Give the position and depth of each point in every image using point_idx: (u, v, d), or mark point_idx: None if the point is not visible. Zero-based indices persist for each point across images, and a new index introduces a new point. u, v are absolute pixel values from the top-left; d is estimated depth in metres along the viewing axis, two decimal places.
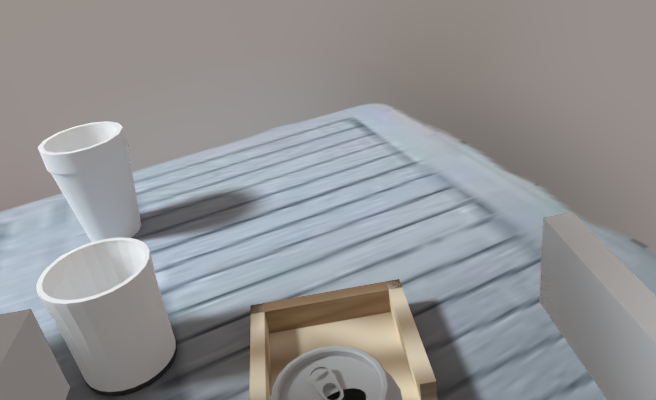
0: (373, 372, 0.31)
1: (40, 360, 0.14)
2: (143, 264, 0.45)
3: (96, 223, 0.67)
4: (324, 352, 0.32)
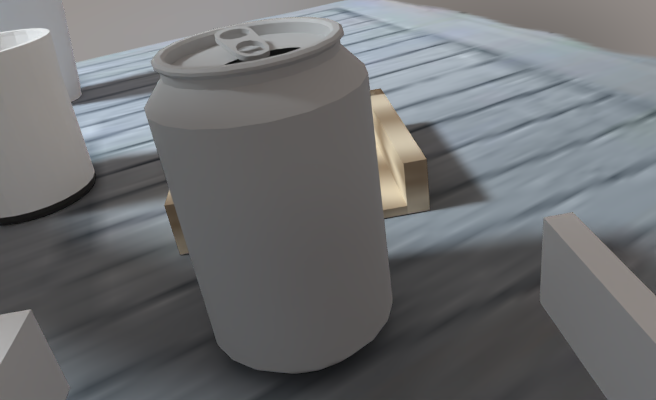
0: (321, 36, 0.20)
1: (40, 360, 0.14)
2: (36, 38, 0.34)
3: None
4: (248, 28, 0.21)
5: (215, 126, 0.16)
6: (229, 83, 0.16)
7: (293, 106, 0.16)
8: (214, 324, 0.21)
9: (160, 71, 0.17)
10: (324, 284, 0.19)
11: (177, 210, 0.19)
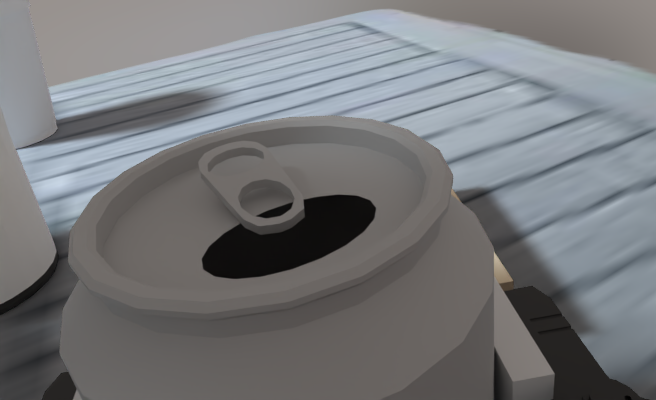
0: (396, 162, 0.11)
1: None
2: None
3: None
4: (261, 133, 0.12)
5: None
6: (224, 329, 0.07)
7: (367, 379, 0.07)
8: None
9: (78, 276, 0.08)
10: None
11: None
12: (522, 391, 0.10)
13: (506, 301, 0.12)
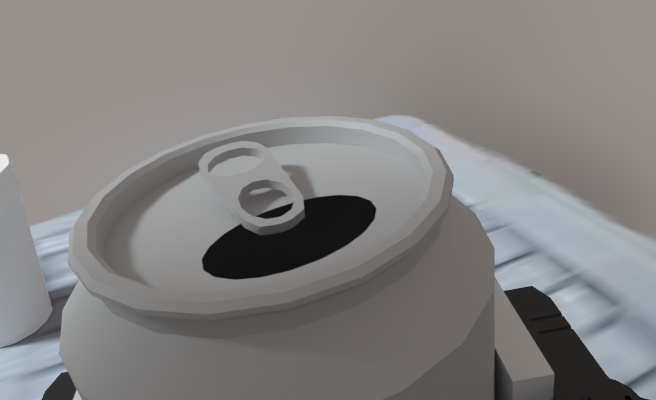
0: (396, 162, 0.11)
1: None
2: None
3: None
4: (261, 134, 0.12)
5: None
6: (225, 330, 0.07)
7: (367, 380, 0.07)
8: None
9: (78, 277, 0.08)
10: None
11: None
12: (522, 391, 0.10)
13: (506, 301, 0.12)
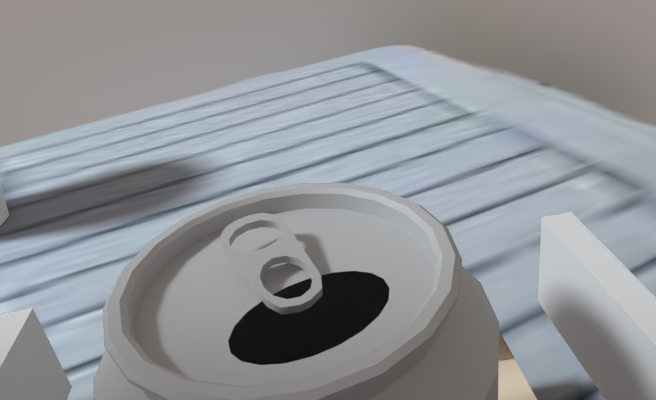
0: (406, 235, 0.11)
1: (42, 359, 0.14)
2: None
3: None
4: (276, 199, 0.13)
5: None
6: None
7: None
8: None
9: (116, 362, 0.09)
10: None
11: None
12: None
13: None
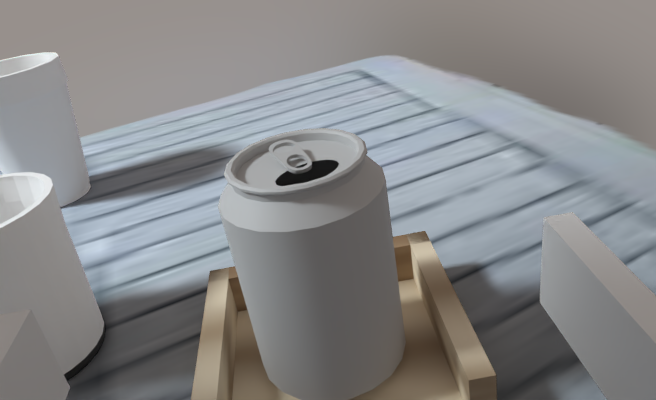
0: (349, 147, 0.26)
1: (40, 360, 0.14)
2: (37, 202, 0.30)
3: None
4: (292, 136, 0.27)
5: (277, 230, 0.22)
6: (287, 198, 0.22)
7: (333, 214, 0.22)
8: (267, 364, 0.28)
9: (234, 186, 0.23)
10: (354, 336, 0.25)
11: (242, 281, 0.25)
12: None
13: None
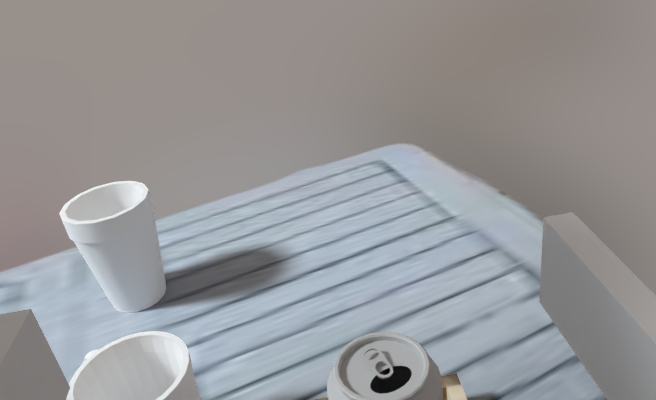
0: (415, 353, 0.38)
1: (40, 360, 0.14)
2: (183, 370, 0.41)
3: (120, 291, 0.64)
4: (373, 337, 0.39)
5: None
6: None
7: None
8: None
9: (345, 393, 0.35)
10: None
11: None
12: None
13: None
